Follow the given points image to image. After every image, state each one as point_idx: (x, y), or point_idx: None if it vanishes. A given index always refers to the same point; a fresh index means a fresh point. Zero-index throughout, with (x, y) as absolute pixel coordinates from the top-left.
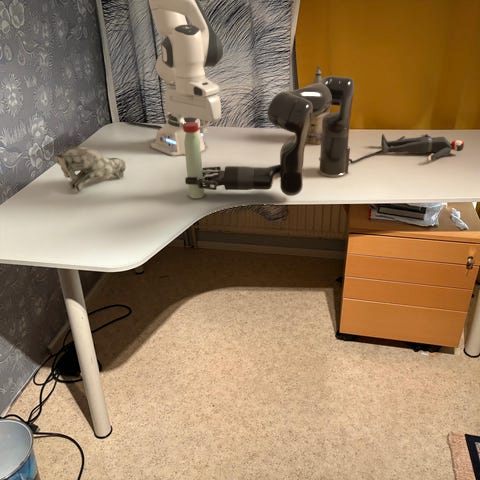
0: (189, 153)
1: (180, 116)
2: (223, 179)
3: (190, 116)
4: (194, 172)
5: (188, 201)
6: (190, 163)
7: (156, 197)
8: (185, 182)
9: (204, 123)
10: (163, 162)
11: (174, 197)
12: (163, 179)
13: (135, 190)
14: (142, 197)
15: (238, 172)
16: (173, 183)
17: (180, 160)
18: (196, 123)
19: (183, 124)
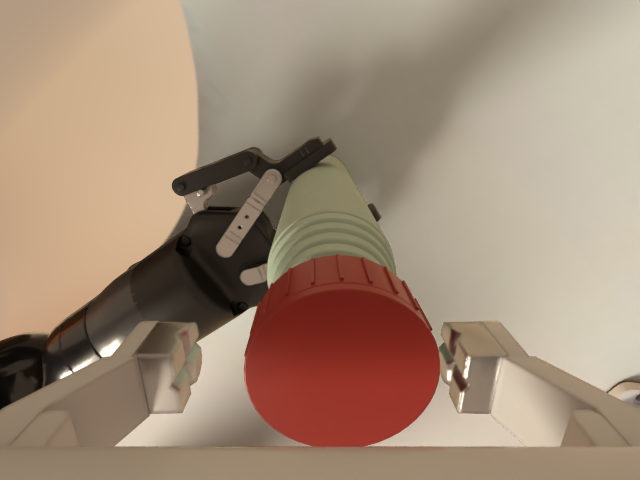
0: (311, 195)
1: (568, 443)
2: (182, 238)
3: (261, 454)
4: (296, 181)
5: (310, 123)
6: (311, 182)
7: (445, 68)
8: (330, 138)
9: (14, 410)
10: (622, 326)
11: (381, 116)
12: (529, 216)
13: (572, 63)
14: (499, 27)
15: (130, 297)
16: (470, 212)
17: (572, 369)
18: (297, 427)
19: (420, 325)
